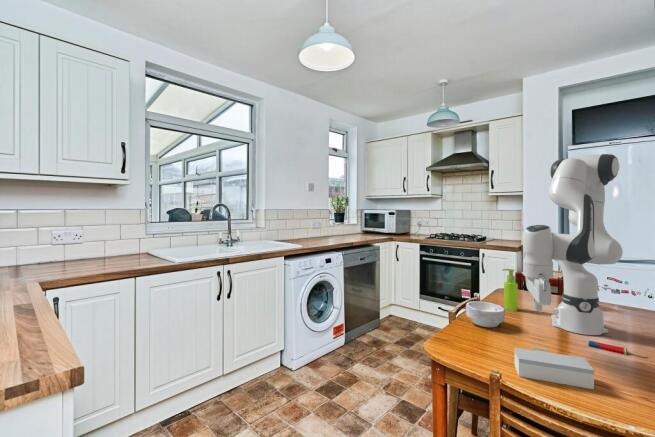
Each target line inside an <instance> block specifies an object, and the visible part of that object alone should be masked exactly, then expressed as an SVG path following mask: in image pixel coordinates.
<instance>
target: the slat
mask: <svg viewBox="0 0 655 437" xmlns="http://www.w3.org/2000/svg"><path fill="white" fill-rule="evenodd" d="M532 350H534V351H541V352H547V353H550V351H549V349H548V348H545V347H538V346H537V347H535V346H533V347H532Z"/></svg>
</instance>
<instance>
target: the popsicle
mask: <svg viewBox="0 0 655 437" xmlns="http://www.w3.org/2000/svg"><path fill="white" fill-rule="evenodd" d="M587 344H588V346H587V347H589V348H594V349H598V350H602V351H607V352H611V353H615V354H619V355H623V356H628V355H632V356H634V357H635V356H636V357H641V358H644V359H646V358H647V355H646V354H643V353H642V354H641V353H636V352H633V351H628V348H626V347H621V346H617V345H612V344H607V343H602V342H599V341H593V340H588V342H587Z"/></svg>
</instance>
